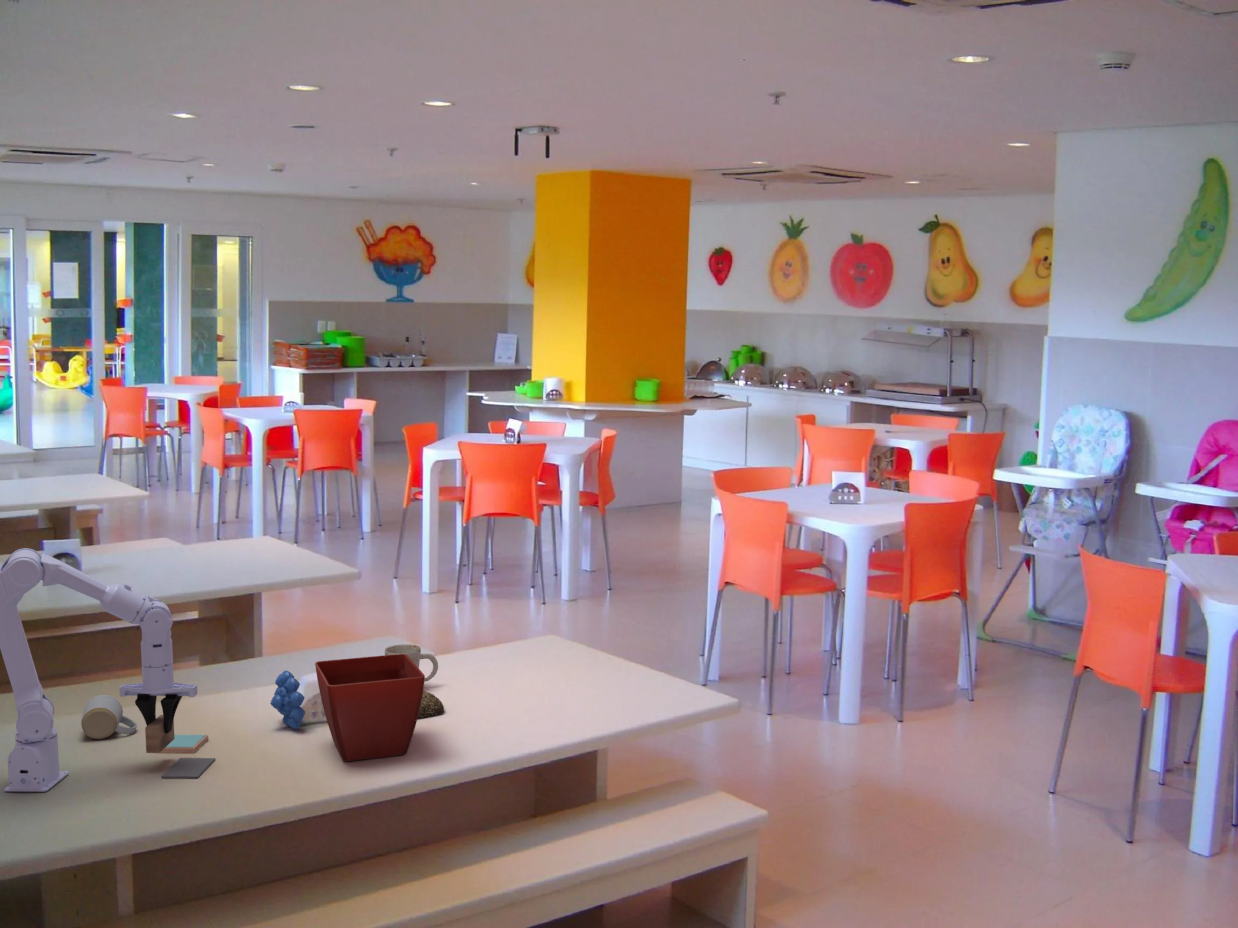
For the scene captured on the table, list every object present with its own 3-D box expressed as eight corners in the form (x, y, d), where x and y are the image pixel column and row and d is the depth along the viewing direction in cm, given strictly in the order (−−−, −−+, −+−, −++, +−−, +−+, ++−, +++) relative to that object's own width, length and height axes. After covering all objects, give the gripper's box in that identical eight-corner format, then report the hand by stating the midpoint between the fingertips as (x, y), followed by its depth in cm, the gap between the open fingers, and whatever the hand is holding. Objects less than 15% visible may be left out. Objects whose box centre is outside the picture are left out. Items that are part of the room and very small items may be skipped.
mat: (197, 778, 240) (197, 776, 240) (161, 778, 240) (161, 776, 240) (215, 759, 250) (215, 757, 250) (180, 759, 250) (180, 757, 250)
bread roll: (448, 717, 277) (447, 695, 277) (392, 723, 273) (391, 701, 272) (434, 700, 289) (434, 679, 289) (380, 706, 285) (380, 685, 284)
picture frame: (193, 747, 254) (208, 734, 262) (154, 747, 254) (170, 733, 262) (194, 755, 254) (208, 742, 262) (155, 755, 254) (170, 741, 262)
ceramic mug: (80, 742, 260) (79, 706, 259) (85, 730, 268) (83, 695, 267) (135, 738, 263) (134, 702, 263) (138, 726, 271) (137, 691, 270)
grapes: (260, 723, 272) (258, 669, 271) (290, 717, 276) (288, 664, 275) (281, 737, 263) (280, 681, 262) (312, 731, 267) (310, 676, 266)
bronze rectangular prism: (159, 752, 243) (158, 727, 242) (146, 752, 243) (145, 727, 242) (174, 738, 251) (173, 714, 250) (162, 738, 251) (160, 714, 250)
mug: (381, 687, 298) (380, 646, 297) (433, 681, 304) (432, 640, 302) (390, 697, 291) (389, 655, 290) (443, 690, 296) (442, 648, 295)
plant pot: (408, 728, 269) (406, 651, 267) (427, 758, 251) (426, 675, 249) (316, 739, 262) (314, 660, 260) (330, 770, 244) (327, 686, 242)
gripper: (201, 658, 249) (204, 725, 250) (128, 657, 249) (131, 724, 250) (188, 668, 242) (191, 736, 243) (113, 667, 242) (116, 736, 243)
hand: (160, 731), depth 246 cm, fingers closed on bronze rectangular prism, 2 cm apart
